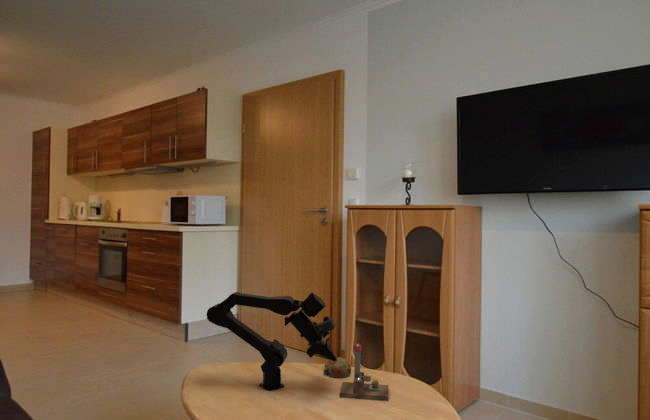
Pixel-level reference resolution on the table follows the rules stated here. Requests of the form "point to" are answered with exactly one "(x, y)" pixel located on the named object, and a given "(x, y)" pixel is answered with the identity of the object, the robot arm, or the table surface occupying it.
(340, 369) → the bread roll
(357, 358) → the lever
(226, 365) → the table surface
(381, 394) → the base
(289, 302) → the robot arm
